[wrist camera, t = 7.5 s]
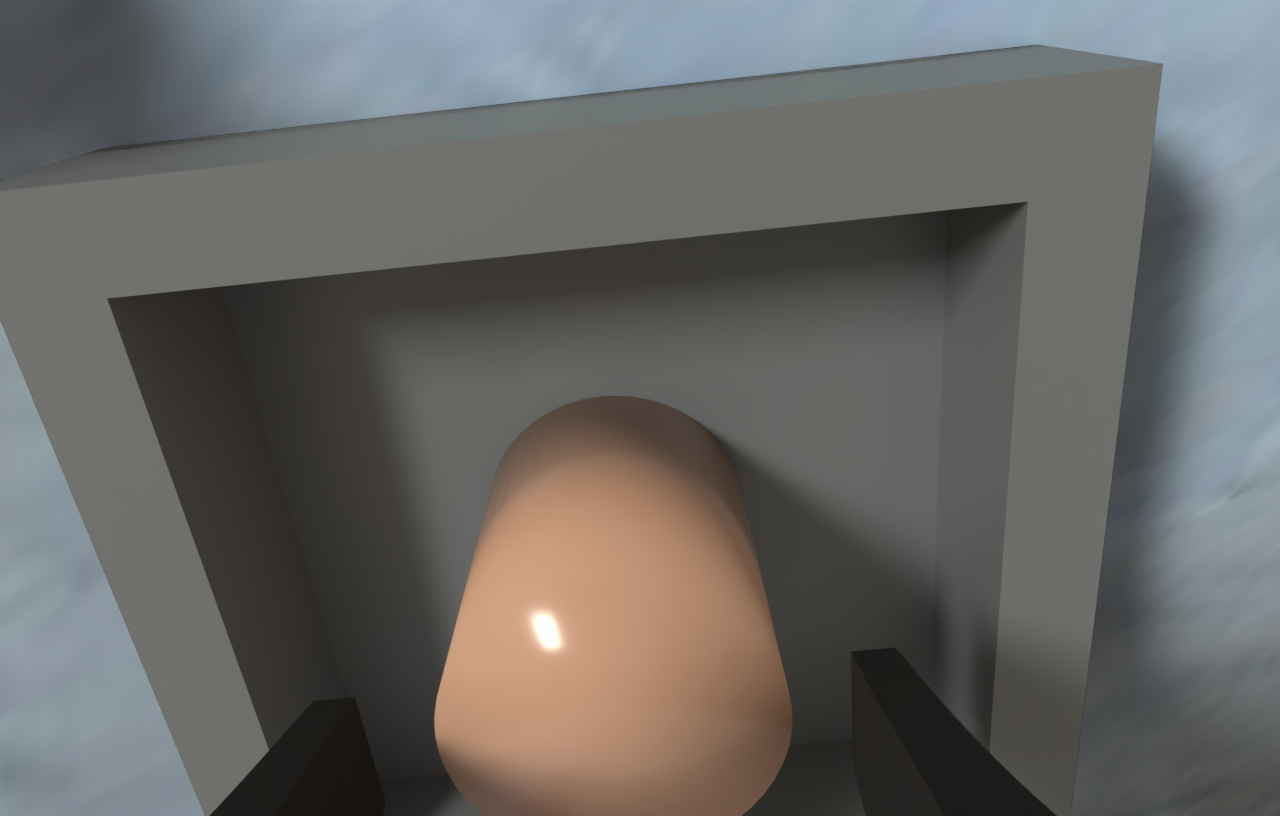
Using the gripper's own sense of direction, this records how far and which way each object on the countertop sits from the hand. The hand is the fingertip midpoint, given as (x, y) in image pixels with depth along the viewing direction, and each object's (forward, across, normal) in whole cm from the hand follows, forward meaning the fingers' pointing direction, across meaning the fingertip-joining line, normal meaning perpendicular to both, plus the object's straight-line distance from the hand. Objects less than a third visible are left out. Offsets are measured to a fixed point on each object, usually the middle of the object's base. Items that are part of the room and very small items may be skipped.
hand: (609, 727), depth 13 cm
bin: (+6, 0, 0) cm, 6 cm away
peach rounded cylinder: (+6, 0, 0) cm, 6 cm away
